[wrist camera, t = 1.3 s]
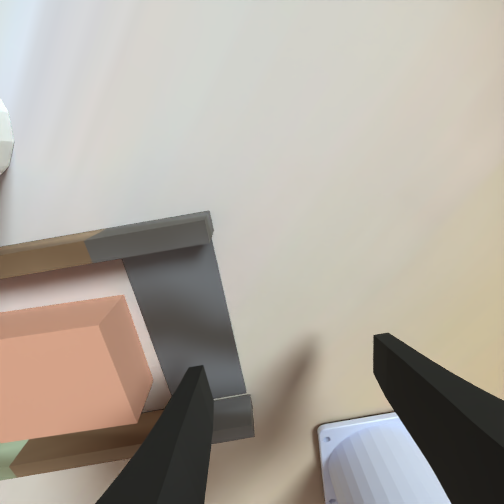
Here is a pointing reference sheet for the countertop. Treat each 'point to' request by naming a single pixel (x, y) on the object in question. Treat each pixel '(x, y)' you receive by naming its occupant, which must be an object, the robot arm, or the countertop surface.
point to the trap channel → (159, 327)
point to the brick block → (70, 369)
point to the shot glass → (5, 138)
